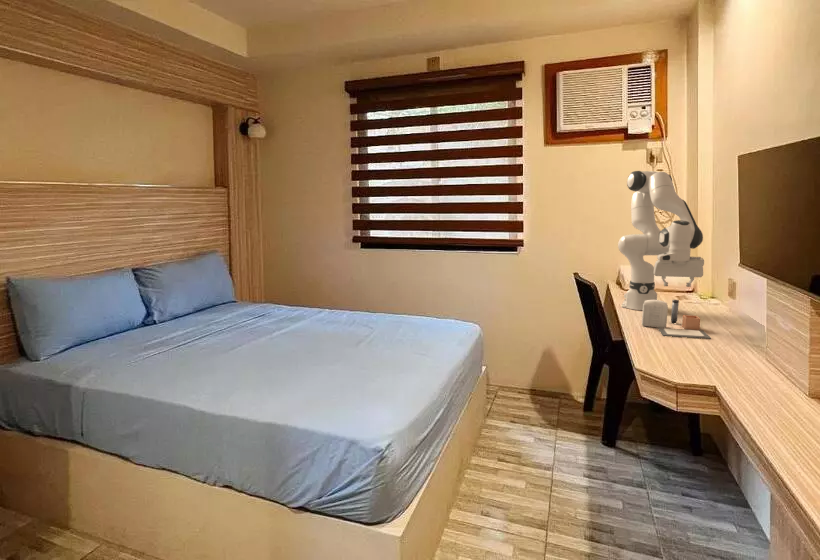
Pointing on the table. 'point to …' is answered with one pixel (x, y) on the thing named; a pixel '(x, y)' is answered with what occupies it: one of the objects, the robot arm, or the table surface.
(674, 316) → the marker
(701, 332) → the writing board
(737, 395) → the table surface
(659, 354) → the table surface
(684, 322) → the pen holder
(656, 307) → the photo printer
